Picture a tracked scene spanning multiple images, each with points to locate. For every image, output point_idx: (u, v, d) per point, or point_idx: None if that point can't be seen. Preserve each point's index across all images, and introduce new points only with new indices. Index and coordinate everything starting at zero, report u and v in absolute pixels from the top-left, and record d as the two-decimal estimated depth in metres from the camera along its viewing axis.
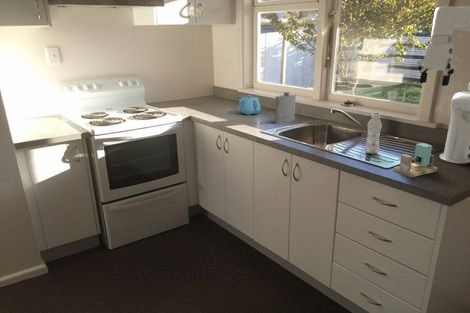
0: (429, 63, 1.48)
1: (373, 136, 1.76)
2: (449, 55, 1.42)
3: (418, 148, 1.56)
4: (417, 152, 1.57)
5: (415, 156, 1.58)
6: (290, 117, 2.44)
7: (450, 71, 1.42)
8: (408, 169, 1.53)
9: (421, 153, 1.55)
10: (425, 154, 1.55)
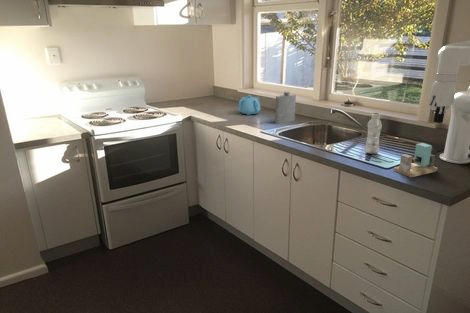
0: (444, 101, 1.50)
1: (373, 136, 1.76)
2: None
3: (418, 148, 1.56)
4: (417, 152, 1.57)
5: (415, 156, 1.58)
6: (290, 117, 2.44)
7: None
8: (408, 169, 1.53)
9: (421, 153, 1.55)
10: (425, 154, 1.55)
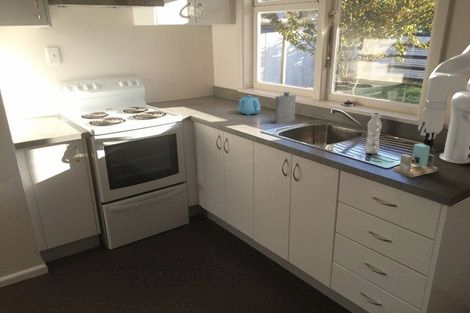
0: (433, 127, 1.52)
1: (373, 136, 1.76)
2: None
3: (416, 148, 1.56)
4: (415, 152, 1.57)
5: (413, 156, 1.58)
6: (290, 117, 2.44)
7: None
8: (408, 169, 1.53)
9: (419, 153, 1.55)
10: (423, 154, 1.54)
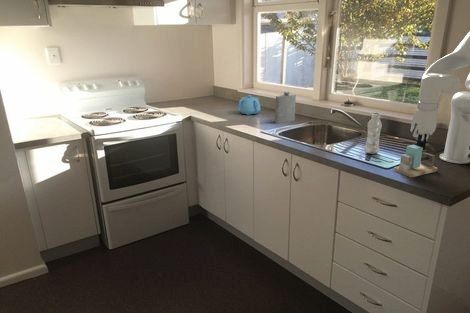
0: (425, 129, 1.50)
1: (373, 136, 1.76)
2: None
3: (409, 150, 1.54)
4: (408, 154, 1.55)
5: None
6: (290, 117, 2.44)
7: None
8: (408, 169, 1.53)
9: (412, 155, 1.53)
10: (416, 156, 1.52)
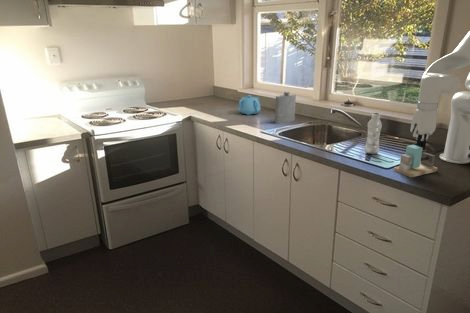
0: (425, 129, 1.50)
1: (373, 136, 1.76)
2: None
3: (408, 150, 1.54)
4: (407, 154, 1.55)
5: None
6: (290, 117, 2.44)
7: None
8: (408, 169, 1.53)
9: (411, 155, 1.53)
10: (415, 156, 1.52)
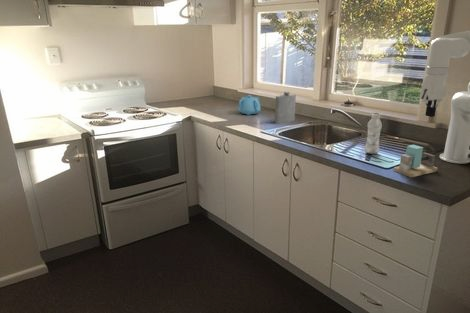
0: (435, 94, 1.48)
1: (373, 136, 1.76)
2: None
3: (409, 150, 1.54)
4: (408, 154, 1.55)
5: None
6: (290, 117, 2.44)
7: None
8: (408, 169, 1.53)
9: (412, 155, 1.53)
10: (416, 156, 1.52)
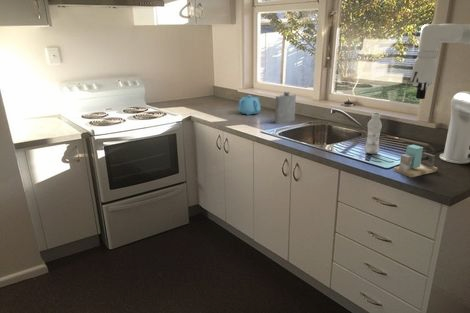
0: (425, 77, 1.55)
1: (373, 136, 1.76)
2: None
3: (409, 150, 1.54)
4: (408, 154, 1.55)
5: None
6: (290, 117, 2.44)
7: None
8: (408, 169, 1.53)
9: (412, 155, 1.53)
10: (416, 156, 1.52)
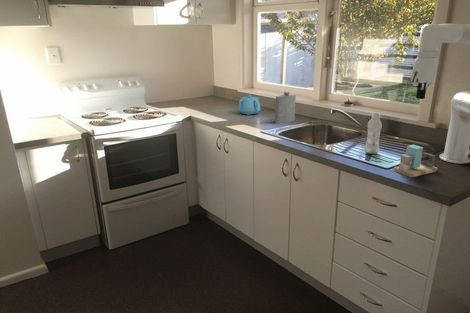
0: (425, 77, 1.55)
1: (373, 136, 1.76)
2: None
3: (409, 150, 1.54)
4: (408, 154, 1.55)
5: None
6: (290, 117, 2.44)
7: None
8: (408, 169, 1.53)
9: (412, 155, 1.53)
10: (416, 156, 1.52)
